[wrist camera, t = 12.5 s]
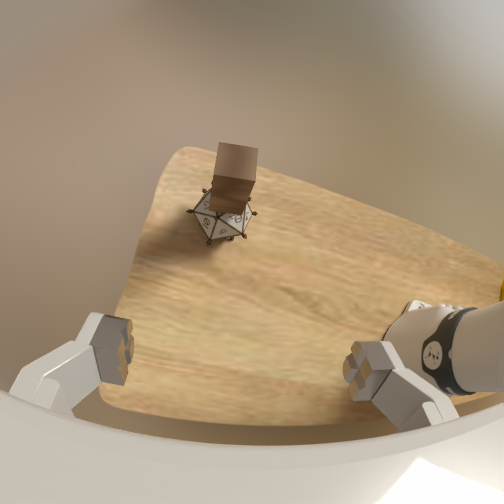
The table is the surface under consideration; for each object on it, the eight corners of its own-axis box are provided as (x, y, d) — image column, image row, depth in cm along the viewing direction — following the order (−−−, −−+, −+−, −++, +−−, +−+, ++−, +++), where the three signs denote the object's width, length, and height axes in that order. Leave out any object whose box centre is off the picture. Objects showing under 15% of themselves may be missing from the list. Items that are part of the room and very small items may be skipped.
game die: (229, 227, 48) (280, 203, 42) (209, 267, 42) (264, 245, 36) (191, 186, 44) (239, 154, 38) (163, 222, 38) (214, 189, 32)
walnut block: (244, 186, 37) (257, 148, 30) (242, 215, 36) (255, 180, 28) (212, 181, 37) (219, 142, 29) (208, 210, 35) (213, 174, 28)
